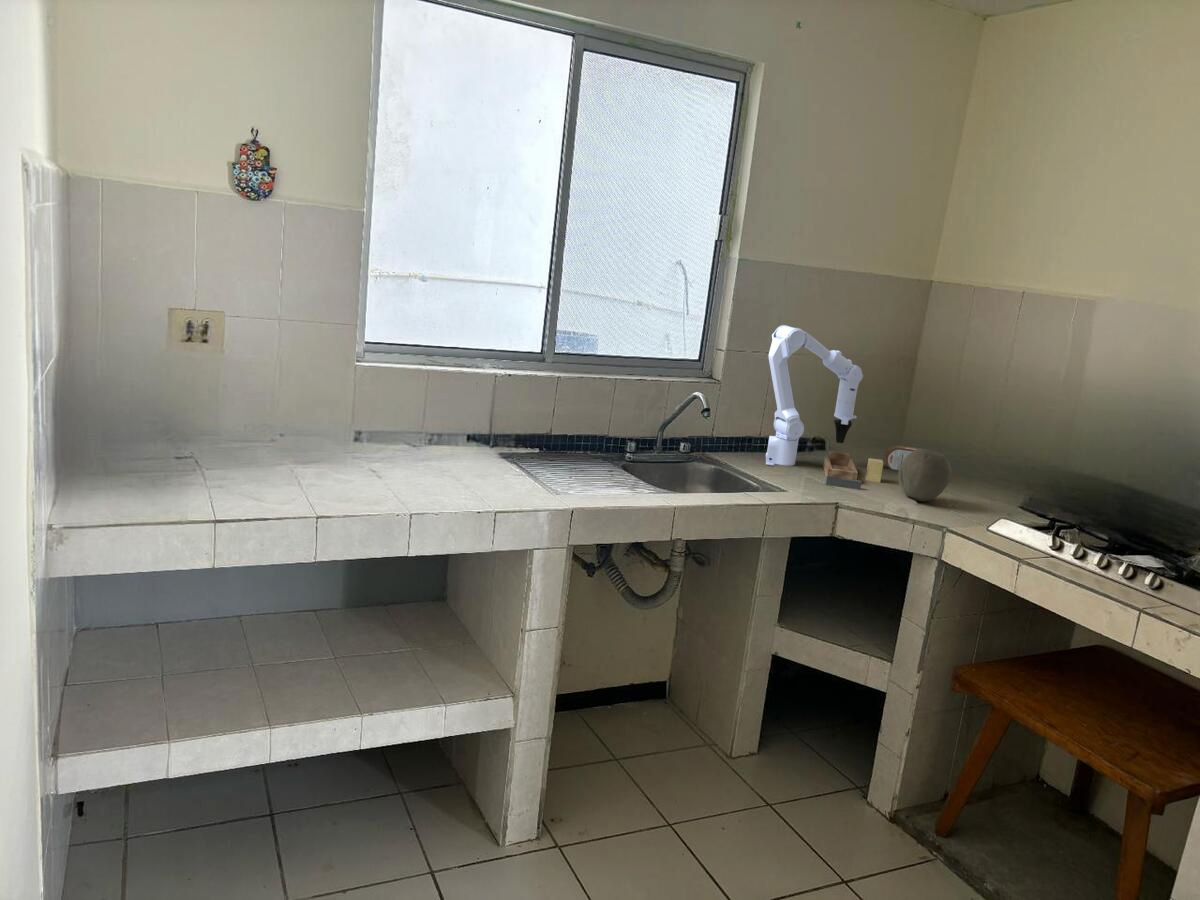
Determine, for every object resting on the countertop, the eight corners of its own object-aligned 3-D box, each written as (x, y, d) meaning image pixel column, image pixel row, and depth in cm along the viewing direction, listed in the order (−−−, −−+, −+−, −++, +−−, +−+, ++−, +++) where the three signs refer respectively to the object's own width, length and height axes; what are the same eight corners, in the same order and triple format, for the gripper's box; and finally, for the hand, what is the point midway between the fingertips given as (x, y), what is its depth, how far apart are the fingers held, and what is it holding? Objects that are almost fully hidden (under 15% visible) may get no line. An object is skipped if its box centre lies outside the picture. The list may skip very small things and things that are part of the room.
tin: (928, 474, 307) (932, 449, 305) (930, 476, 304) (935, 451, 302) (881, 468, 308) (886, 443, 306) (883, 470, 305) (887, 445, 303)
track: (823, 487, 274) (825, 477, 273) (819, 466, 302) (820, 457, 301) (862, 492, 272) (863, 483, 272) (853, 470, 300) (855, 461, 299)
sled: (826, 479, 281) (829, 464, 280) (823, 465, 300) (825, 450, 299) (855, 483, 280) (858, 468, 279) (850, 468, 299) (853, 454, 298)
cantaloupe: (939, 510, 261) (949, 458, 258) (889, 499, 268) (897, 448, 265) (950, 501, 273) (959, 451, 270) (901, 490, 280) (910, 441, 277)
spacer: (866, 483, 285) (869, 460, 284) (864, 480, 289) (868, 458, 288) (879, 484, 285) (883, 462, 283) (878, 481, 289) (881, 459, 287)
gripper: (860, 406, 292) (854, 448, 295) (856, 399, 306) (850, 439, 309) (837, 403, 293) (831, 445, 296) (834, 396, 307) (828, 437, 310)
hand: (839, 442), depth 303 cm, fingers closed
